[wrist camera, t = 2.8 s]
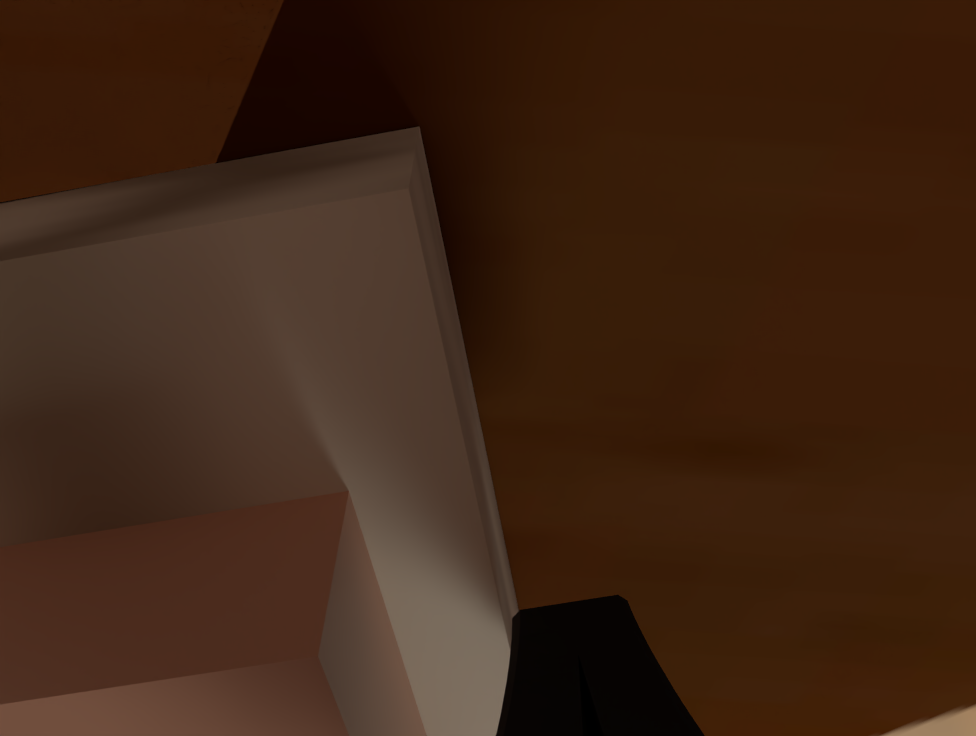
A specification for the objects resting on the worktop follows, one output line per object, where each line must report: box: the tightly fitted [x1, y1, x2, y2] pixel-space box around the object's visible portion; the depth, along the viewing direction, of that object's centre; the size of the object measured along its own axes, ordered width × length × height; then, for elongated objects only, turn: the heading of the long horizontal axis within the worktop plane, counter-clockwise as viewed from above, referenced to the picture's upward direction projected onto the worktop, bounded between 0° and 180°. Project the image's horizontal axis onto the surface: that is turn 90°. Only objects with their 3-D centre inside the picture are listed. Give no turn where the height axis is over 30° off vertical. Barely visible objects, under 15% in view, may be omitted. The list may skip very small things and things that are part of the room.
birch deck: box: [0, 127, 519, 736], centre depth 12 cm, size 8×12×3 cm, turn 10°
